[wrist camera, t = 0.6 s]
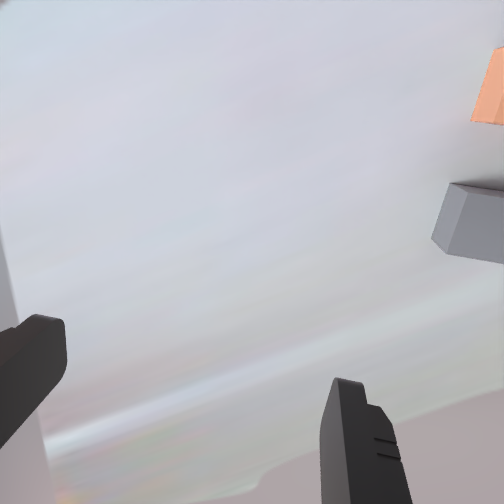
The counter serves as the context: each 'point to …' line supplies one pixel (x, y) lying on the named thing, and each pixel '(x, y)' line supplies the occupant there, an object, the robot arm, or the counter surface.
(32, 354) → the robot arm
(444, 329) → the counter surface
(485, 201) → the grey block
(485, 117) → the terracotta block
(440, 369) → the counter surface
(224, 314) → the counter surface
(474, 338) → the counter surface
